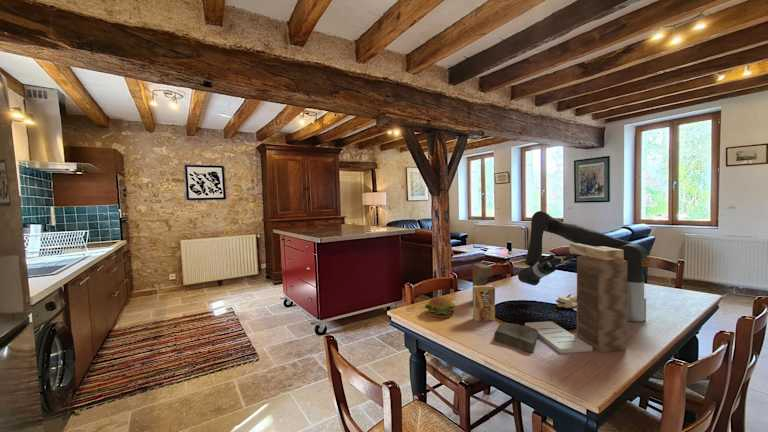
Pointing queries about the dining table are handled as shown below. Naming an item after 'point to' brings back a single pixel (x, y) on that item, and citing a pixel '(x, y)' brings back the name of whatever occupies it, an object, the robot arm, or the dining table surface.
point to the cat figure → (567, 301)
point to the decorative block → (481, 274)
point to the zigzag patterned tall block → (602, 304)
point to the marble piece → (517, 336)
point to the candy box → (484, 303)
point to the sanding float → (598, 252)
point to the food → (440, 307)
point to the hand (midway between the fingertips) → (562, 255)
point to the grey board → (559, 337)
